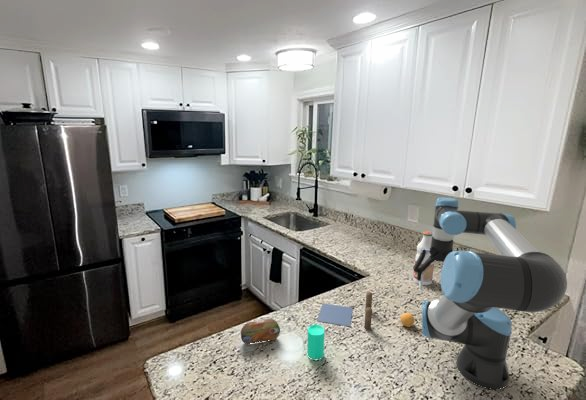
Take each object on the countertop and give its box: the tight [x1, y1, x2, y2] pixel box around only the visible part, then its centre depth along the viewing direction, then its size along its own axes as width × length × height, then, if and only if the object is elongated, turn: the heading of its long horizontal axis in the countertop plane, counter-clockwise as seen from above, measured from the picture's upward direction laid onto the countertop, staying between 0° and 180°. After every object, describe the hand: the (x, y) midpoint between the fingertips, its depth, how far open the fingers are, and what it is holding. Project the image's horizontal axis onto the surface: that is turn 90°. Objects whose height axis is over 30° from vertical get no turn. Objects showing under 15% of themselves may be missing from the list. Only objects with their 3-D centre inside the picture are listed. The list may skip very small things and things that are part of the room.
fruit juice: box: [412, 230, 435, 286], centre depth 162 cm, size 9×9×28 cm
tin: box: [240, 318, 281, 346], centre depth 117 cm, size 15×3×8 cm, turn 105°
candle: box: [306, 324, 326, 359], centre depth 109 cm, size 6×6×12 cm
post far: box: [364, 291, 373, 310], centre depth 137 cm, size 3×3×9 cm
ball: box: [400, 312, 415, 328], centre depth 127 cm, size 6×6×6 cm
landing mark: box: [316, 303, 353, 327], centre depth 135 cm, size 14×14×1 cm
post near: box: [363, 307, 373, 331], centre depth 125 cm, size 3×3×9 cm
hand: (436, 289), depth 121 cm, fingers open, 11 cm apart
